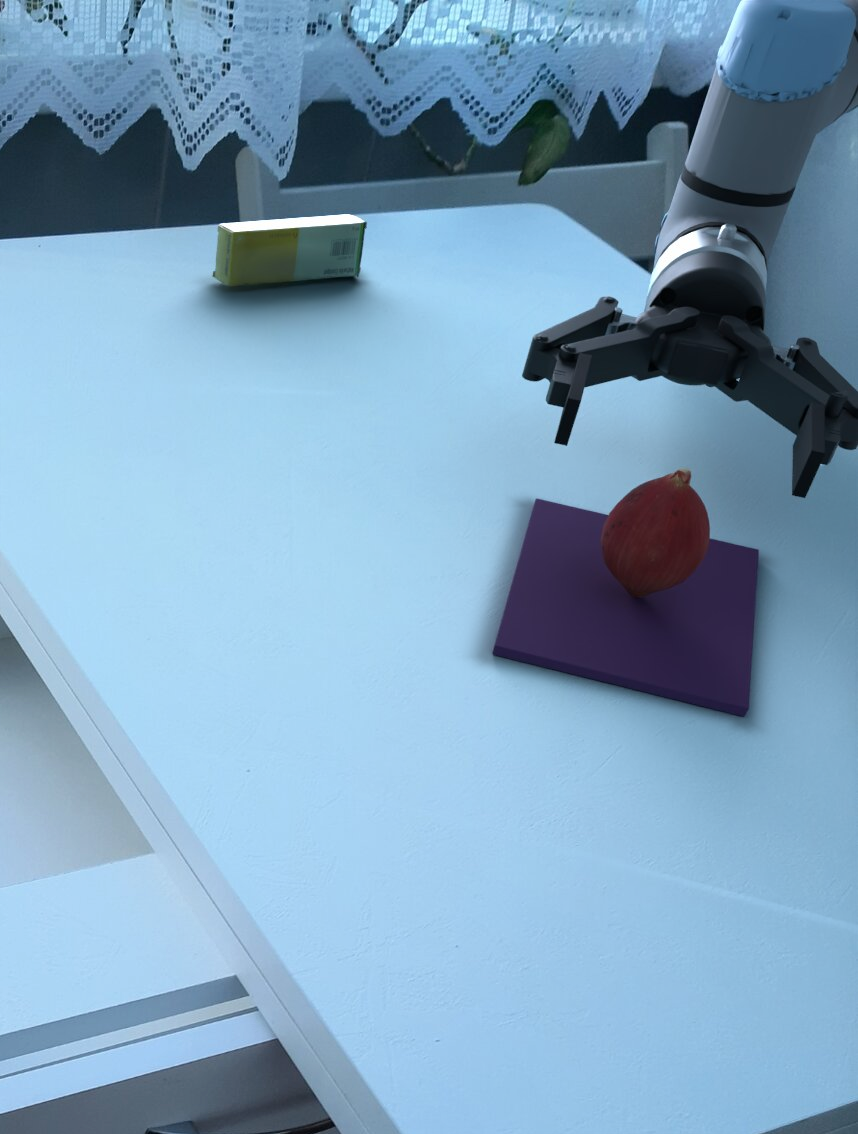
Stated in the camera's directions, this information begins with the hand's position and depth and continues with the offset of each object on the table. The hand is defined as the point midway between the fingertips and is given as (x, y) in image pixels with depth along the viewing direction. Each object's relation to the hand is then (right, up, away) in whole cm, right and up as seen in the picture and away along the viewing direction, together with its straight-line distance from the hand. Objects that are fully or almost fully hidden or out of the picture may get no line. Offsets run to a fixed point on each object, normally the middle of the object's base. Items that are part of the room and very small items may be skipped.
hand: (686, 448), depth 86 cm
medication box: (-19, +25, +33) cm, 45 cm away
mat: (-2, -8, +4) cm, 9 cm away
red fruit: (-2, -8, +3) cm, 9 cm away
